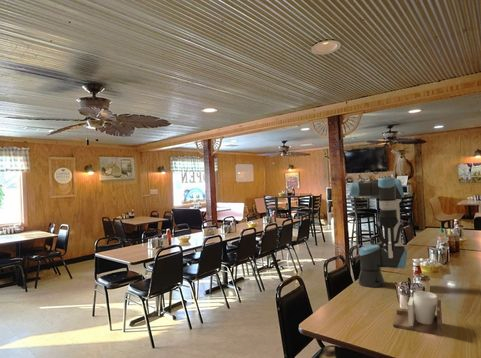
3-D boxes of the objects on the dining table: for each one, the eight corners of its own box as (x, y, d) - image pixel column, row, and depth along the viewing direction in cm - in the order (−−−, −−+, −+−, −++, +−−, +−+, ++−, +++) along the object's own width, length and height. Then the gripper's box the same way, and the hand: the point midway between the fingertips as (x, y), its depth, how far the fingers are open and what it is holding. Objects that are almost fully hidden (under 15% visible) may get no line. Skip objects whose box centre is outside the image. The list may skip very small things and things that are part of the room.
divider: (408, 325, 140) (407, 304, 140) (411, 316, 149) (410, 296, 149) (412, 326, 139) (411, 305, 139) (415, 316, 148) (413, 297, 148)
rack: (393, 326, 143) (391, 303, 143) (397, 315, 154) (396, 294, 154) (441, 335, 133) (440, 310, 133) (442, 323, 144) (440, 299, 144)
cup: (415, 314, 150) (416, 289, 149) (438, 320, 144) (438, 293, 143) (410, 321, 143) (411, 294, 143) (434, 328, 137) (434, 300, 137)
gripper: (372, 209, 159) (375, 258, 159) (401, 209, 152) (404, 260, 152) (375, 208, 166) (378, 254, 165) (403, 208, 159) (406, 256, 158)
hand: (390, 257), depth 159 cm, fingers closed
